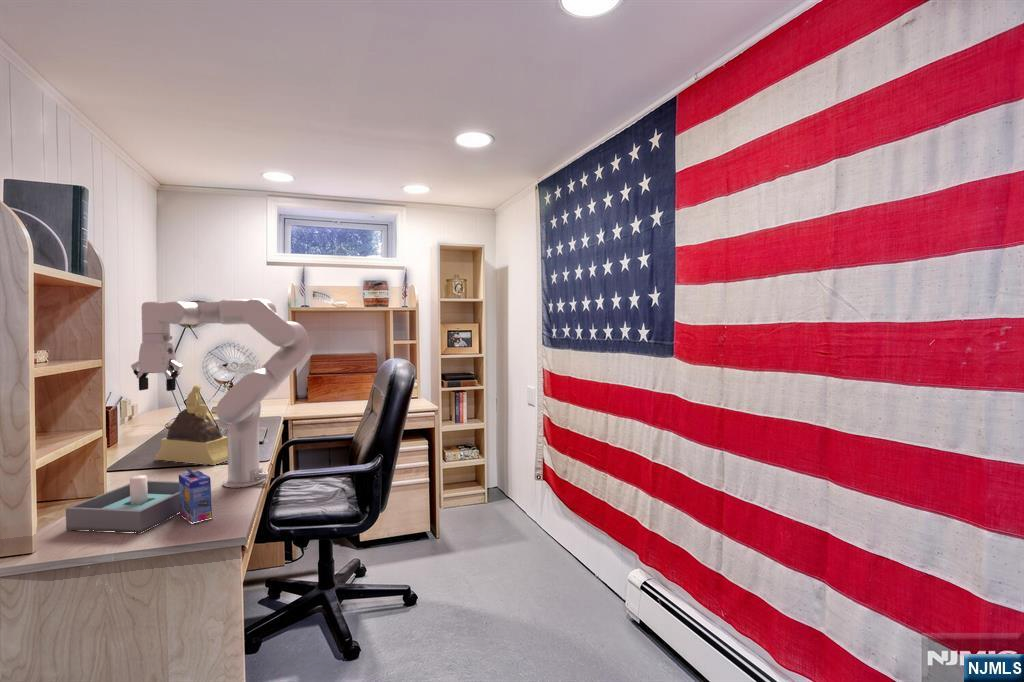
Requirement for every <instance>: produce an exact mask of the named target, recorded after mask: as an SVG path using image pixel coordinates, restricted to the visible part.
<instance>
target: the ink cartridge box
mask: <svg viewBox="0 0 1024 682" xmlns="http://www.w3.org/2000/svg"><path fill="white" fill-rule="evenodd" d="M185 469H186V470H187V472H184V473H179V474H178V482H179V493H180V514H181V515H182V516H183V517H184V518H186V519H187V520H188V521H190V522H192V523H193V522H197V521H201V520H205V519H209V518H212V517H213V502H212V501H213V499H212V483H211V482H212V481H211V477H210V476H209V475H208V474H206V473H205V474H204V473H203V472H202V471H200V470H194V471H192V469H189V468H188V467H186V468H185ZM180 514H179V515H180ZM181 515H180V516H181ZM182 516H181V517H182ZM183 517H182V518H183ZM184 518H183V519H184ZM213 518H214V517H213ZM213 518H212V519H213ZM187 520H186V521H187ZM188 521H187V522H188Z"/></svg>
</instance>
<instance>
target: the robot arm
mask: <svg viewBox="0 0 1024 682" xmlns="http://www.w3.org/2000/svg"><path fill="white" fill-rule="evenodd" d="M170 324H172V325H195V324H198V325H199V324H221V325H225V326H227V325H228V326H230V325H231V326H232V325H249V326H250V327H251V328H252V329H253V330H255V331H256V332H257V333H258V334H260V335H261V336H262V337H263V338H264V339H266V340H267V341H268V342H270V343H271V344H272V345H274V346H275V347H279V349H278V350H277V351H276V352H275V353H273V355H271V357H270V358H269V359H268V360H267V361H266V362H265V363H264V364H263V365H262V366H260V367H259V368H257V369H254V370H251V371H249V372H247V373H246V374H244V376H242V377H241V378H240V379H239V380H238V381H237V382H236V383H235V384H234V385H233V386H232V387H231V388H230V389H229V390H228V391H227V393H226V394H225V395H224V396H223V397H222V398H220V400H219V401H218V402H217V404H216V408H215V413H216V416H217V418H218V419H219V421H221V422H222V423H223V424H227V437H228V462H227V477H226V478H225V479H223V481H222V485H223V487H226V488H229V487H230V488H232V489H239V488H240V487H241V488H247V487H252V486H256V485H258V484H261V483H262V482H264V481H265V480H267V479H269V478H270V471H263V467H262V466H260V417H261V409H262V406H261V405H262V404H261V402H262V401H263V400H264V399H265V398H266V397H268V396H270V395H272V394H273V393H275V392H276V391H277V390H278V388H280V386H281V385H282V383H284V382H285V381H286V380H287V379H288V377H290V375H291V374H292V373H293V372H294V371H295V369H296V368H297V367H298V366H299V365H300V364H301V363H302V362H303V360H304V359H305V357H306V356H307V353H308V351H309V346H310V345H309V344H310V341H309V340H310V339H309V335H308V332H307V330H306V329H305V327H304V325H302V324H300V323H299V322H297V321H286V320H285V319H284V318H283V317H282V316H280V315H279V314H277V308H276V305H275V304H274V303H273V302H272V301H270V300H269V299H265V298H264V299H263V298H250V299H249V298H248V299H235V298H234V299H222V300H220V301H211V302H209V301H205V302H204V301H203V302H202V301H201V302H197V301H196V302H195V301H192V302H191V301H178V300H177V301H176V300H175V301H165V302H163V301H145V302H143V303H142V304H141V343H140V346H139V347H140V348H139V352H138V360H137V361H136V362H134V363H133V364H131V365H130V366H131V370H132V371H133V374H134V375H135V376H136V378H137V379H138V391H145V390H146V391H147V390H149V377H147V376H149V374H164V375H165V376H166V380H165V381H166V383H165V385H166V391H167V392H170V391H175V390H176V384H177V383H176V379H177V378H178V376H179V375H180V374H181V372H182V370H183V365H182V364H181V363H178V362H177V359H176V358H177V357H176V352H175V347H174V344H173V342H171V340H173V336H172V335H171V328H170V327H171V326H170ZM241 488H240V489H241Z"/></svg>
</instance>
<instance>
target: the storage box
mask: <svg viewBox="0 0 1024 682" xmlns="http://www.w3.org/2000/svg"><path fill="white" fill-rule="evenodd" d="M147 488H148V502H147V503H145V504H143V505H130V483H128V484H125V485H122V486H120V487H117V488H115V489H112V490H109V491H107V492H105V493H102V494H99V495H96V496H93V497H92V498H89V499H87V500H86V499H85V500H84V501H82V502H78V503H76V504H73V505H70V506H68V507H66V508H65V530H66V529H67V530H89V531H93V530H94V531H115V532H134V533H135V532H136V533H141V532H143V531H145V530H147V529H149V528H151V527H153V526H155V525H157V524H159V523H161V522H163V521H165V520H167V519H169V518H170V517H172V516H174V515H176V514H177V513H179V512H180V493H179V481H167V480H147ZM176 516H177V515H176ZM174 517H175V516H174ZM169 520H170V519H169ZM167 521H168V520H167ZM165 522H166V521H165ZM163 523H164V522H163ZM161 524H162V523H161ZM159 525H160V524H159ZM157 526H158V525H157ZM155 527H156V526H155Z"/></svg>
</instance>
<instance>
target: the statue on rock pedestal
mask: <svg viewBox="0 0 1024 682" xmlns="http://www.w3.org/2000/svg"><path fill="white" fill-rule="evenodd" d="M201 389H202V388H201V386H199V385H197V384H196V385H194V386H193V387H192V390H191V391H190V392H189V393H188V396H187V398H186V408H184V409H182V411H179V413H178V414H177V415H176V418H175V419H174V420H173V422H172V423H171V424H170V426H169V429H168V432H167V435H166V438H165V437H163V438H161V440H160V441H161V442H160V443H161V444H160V448H159V451H158V452H157V453H156V455H155V460H156V459H157V460H156V461H158V460H167V461H178V462H195V463H202V464H210V465H216V464H219V463H221V462H224V461H227V460H228V436H224V435H222V433H221V430H219V429H218V427H216V425H215V421H214V418H213V416H212V415H211V413H209V412H208V405H207V404H201V403H202V401H201V394H200V392H201ZM167 461H166V462H167ZM219 465H220V464H219ZM216 466H217V465H216Z"/></svg>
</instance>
